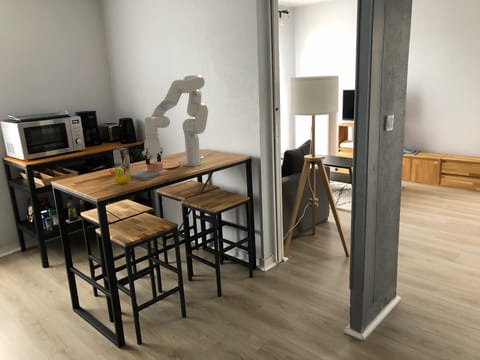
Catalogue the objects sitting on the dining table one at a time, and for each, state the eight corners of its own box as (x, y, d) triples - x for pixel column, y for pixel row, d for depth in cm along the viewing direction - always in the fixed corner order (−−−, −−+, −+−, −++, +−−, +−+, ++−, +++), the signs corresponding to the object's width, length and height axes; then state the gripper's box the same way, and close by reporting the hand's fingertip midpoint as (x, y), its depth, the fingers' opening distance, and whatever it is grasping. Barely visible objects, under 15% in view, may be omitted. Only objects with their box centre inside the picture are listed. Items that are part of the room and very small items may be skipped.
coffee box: (124, 174, 253) (121, 150, 249) (115, 174, 254) (112, 150, 250) (131, 171, 262) (128, 147, 257) (122, 171, 263) (119, 147, 259)
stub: (151, 170, 262) (150, 160, 260) (168, 173, 253) (168, 162, 252) (142, 173, 256) (141, 162, 254) (159, 176, 247) (159, 165, 245)
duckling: (110, 185, 230) (108, 168, 227) (112, 183, 235) (110, 166, 232) (130, 184, 231) (128, 167, 228) (131, 181, 236) (129, 165, 233)
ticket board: (141, 173, 255) (141, 170, 255) (159, 176, 247) (159, 172, 246) (127, 177, 246) (126, 174, 245) (145, 180, 237) (144, 177, 237)
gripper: (157, 134, 257) (159, 160, 261) (137, 138, 243) (139, 165, 247) (165, 135, 253) (167, 161, 257) (145, 138, 239) (147, 166, 243)
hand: (153, 163), depth 252 cm, fingers open, 9 cm apart
